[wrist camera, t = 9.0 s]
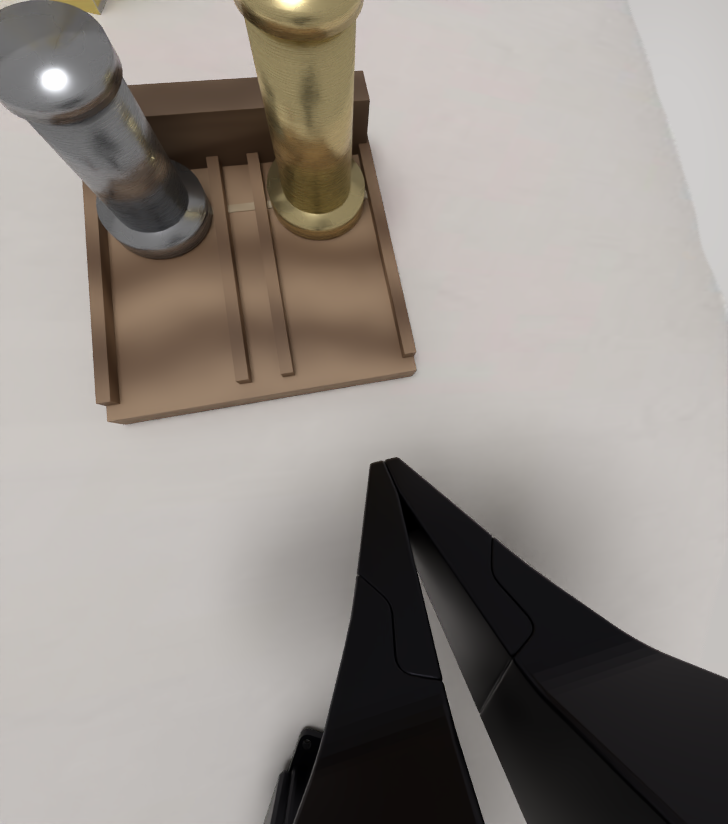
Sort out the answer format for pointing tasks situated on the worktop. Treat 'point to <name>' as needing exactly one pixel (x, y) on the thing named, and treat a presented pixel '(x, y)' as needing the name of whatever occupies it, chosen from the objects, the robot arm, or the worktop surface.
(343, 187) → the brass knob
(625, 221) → the worktop surface
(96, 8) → the pasta box
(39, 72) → the pewter knob
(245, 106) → the walnut mount
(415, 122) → the worktop surface
